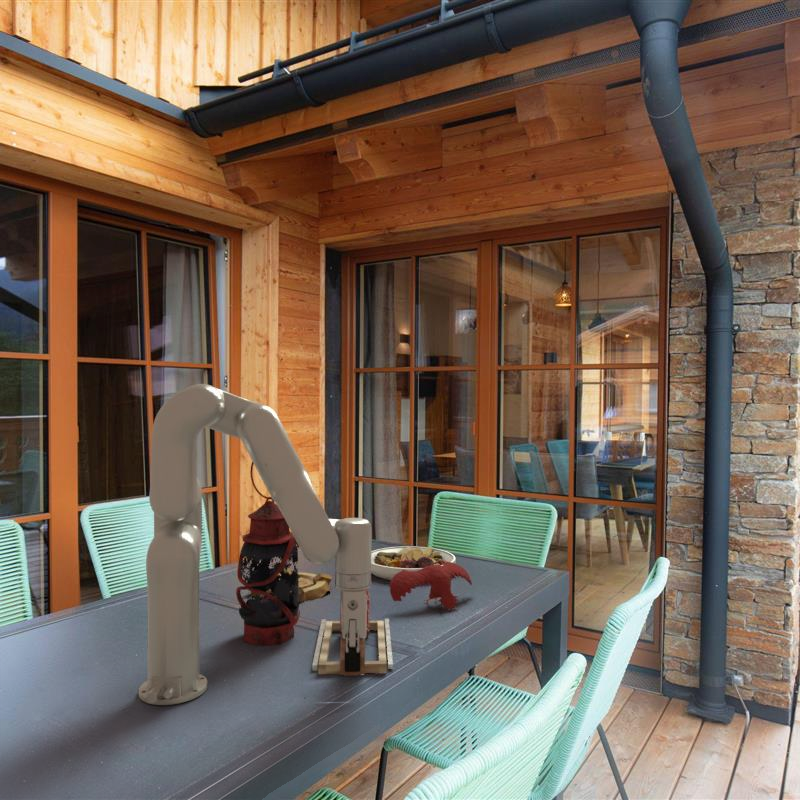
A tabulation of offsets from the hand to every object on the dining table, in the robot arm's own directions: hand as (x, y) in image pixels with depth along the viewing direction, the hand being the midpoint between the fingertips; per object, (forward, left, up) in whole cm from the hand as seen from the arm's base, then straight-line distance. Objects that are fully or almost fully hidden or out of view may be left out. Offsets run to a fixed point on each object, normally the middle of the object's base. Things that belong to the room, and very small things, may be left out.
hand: (352, 666), depth 136 cm
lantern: (+21, +21, -2) cm, 29 cm away
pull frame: (+12, 0, -1) cm, 12 cm away
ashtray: (+58, +20, -2) cm, 61 cm away
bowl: (+79, -17, -2) cm, 81 cm away
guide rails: (+15, 0, -1) cm, 15 cm away
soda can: (+20, 0, -2) cm, 20 cm away
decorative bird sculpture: (+44, -22, -2) cm, 49 cm away
